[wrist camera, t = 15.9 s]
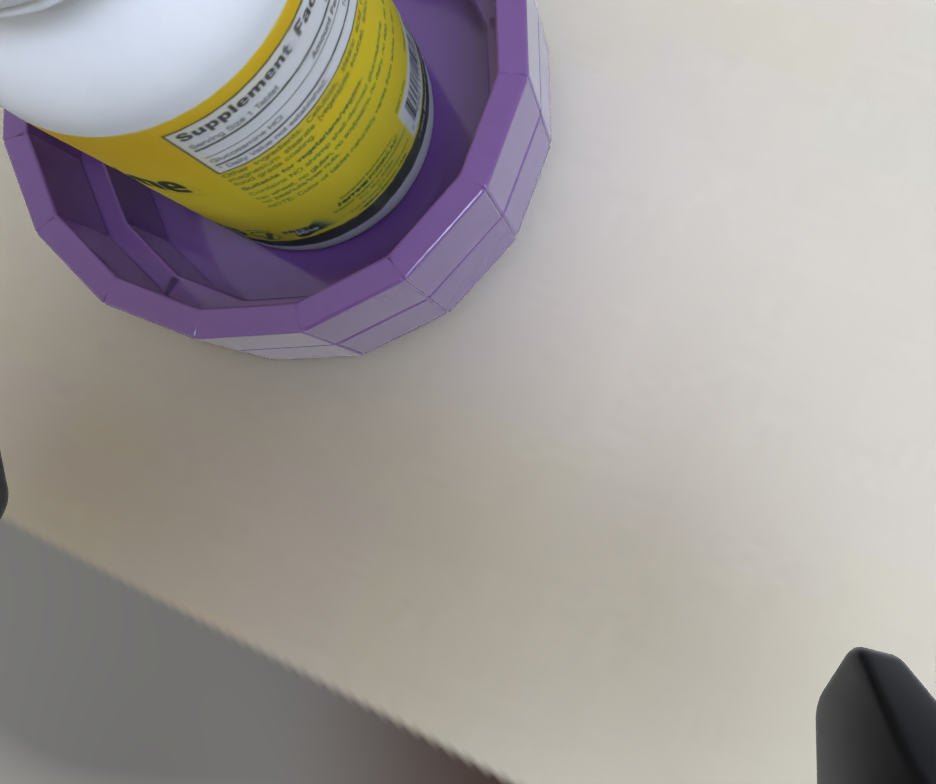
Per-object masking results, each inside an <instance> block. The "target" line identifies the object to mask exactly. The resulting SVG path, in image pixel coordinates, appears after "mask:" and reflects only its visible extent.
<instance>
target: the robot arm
mask: <svg viewBox="0 0 936 784" xmlns="http://www.w3.org/2000/svg"><path fill="white" fill-rule="evenodd" d="M7 502H8V487H7V482H6V477H5V472H4V467H3V462H2V457H1V452H0V519H1V517H2V515H3V513H4V511H5V509H6V506H7ZM816 750H817V784H936V700H935V699H934V698H933V697H932V695H931V694H930V693H929V692H928V691H927V689H926V688H925V687H924V686H923V685H922V683H921V682H920V681H919V680H918V679H917V677H916V676H915V675H914V674H913V673H912V671H911V670H910V669H909V668H908V667H907V665H906V664H905V663H904V662H903V661H902V660H901V659H899V658H898V657H896V656H894V655H892V654H888V653H884V652H880V651H876V650H872V649H868V648H864V647H856V648H854V649H852V650H851V651H849V653H848V654H847V655H846V656H845V658H844V660H843V661H842V663H841V664H840V666H839V667H838V669H837V670H836V672H835V674H834V675H833V677H832V678H831V680H830V681H829V683H828V684H827V686H826V688H825V689H824V691H823V692H822V694H821V696H820V699H819V701H818V705H817V711H816Z"/></svg>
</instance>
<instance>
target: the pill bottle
mask: <svg viewBox="0 0 936 784" xmlns="http://www.w3.org/2000/svg"><path fill="white" fill-rule="evenodd" d="M0 106H1V107H3V108H4V109H6V110H7V111H9V112H10V113H12V114H14V115H15V116H17V117H19V118H20V119H22V120H24V121H25V122H27V123H29V124H31V125H33V126H35V127H36V128H38V129H40V130H42V131H44V132H46V133H48V134H50V135H51V136H53V137H55V138H57V139H59V140H61V141H63V142H65V143H67V144H69V145H71V146H72V147H74V148H76V149H78V150H80V151H82V152H84V153H86V154H88V155H90V156H92V157H94V158H96V159H98V160H100V161H101V162H103V163H105V164H106V165H108V166H110V167H112V168H114V169H116V170H118V171H120V172H122V173H124V174H125V175H127V176H129V177H131V178H133V179H134V180H136V181H138V182H140V183H142V184H144V185H145V186H147V187H149V188H151V189H152V190H154V191H156V192H158V193H160V194H162V195H164V196H166V197H168V198H170V199H172V200H173V201H175V202H177V203H179V204H181V205H183V206H184V207H186V208H188V209H190V210H192V211H194V212H196V213H198V214H200V215H201V216H203V217H205V218H207V219H209V220H211V221H213V222H215V223H216V224H218V225H220V226H222V227H224V228H226V229H228V230H230V231H232V232H234V233H236V234H238V235H240V236H242V237H244V238H246V239H249V240H251V241H253V242H256V243H259V244H262V245H265V246H269V247H273V248H277V249H285V250H313V249H321V248H325V247H329V246H333V245H336V244H339V243H342V242H344V241H347V240H349V239H351V238H353V237H355V236H357V235H359V234H361V233H362V232H364V231H366V230H367V229H369V228H371V227H372V226H374V225H375V224H376V223H378V222H379V221H380V220H382V219H383V218H384V217H385V216H386V215H387V214H388V213H389V212H391V211H392V210H393V209H394V208H395V207H396V206H397V205H398V203H399V202H400V201H401V200H402V199H403V198H404V196H405V195H406V193H407V192H408V190H409V189H410V187H411V186H412V184H413V183H414V181H415V179H416V177H417V176H418V174H419V172H420V170H421V168H422V165H423V163H424V161H425V158H426V155H427V152H428V149H429V146H430V141H431V136H432V129H433V118H434V106H433V94H432V87H431V82H430V78H429V74H428V70H427V67H426V65H425V62H424V60H423V57H422V55H421V53H420V50H419V48H418V46H417V44H416V42H415V40H414V38H413V36H412V34H411V32H410V31H409V29H408V27H407V25H406V24H405V22H404V20H403V18H402V17H401V15H400V13H399V11H398V10H397V8H396V6H395V4H394V3H393V1H392V0H0Z"/></svg>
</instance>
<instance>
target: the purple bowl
mask: <svg viewBox="0 0 936 784" xmlns="http://www.w3.org/2000/svg"><path fill="white" fill-rule="evenodd" d="M392 1H393V3H394V4H395V6H396V8H397V10H398V11H399V13H400V15H401V17H402V18H403V20H404V22H405V24H406V25H407V27H408V29H409V31H410V32H411V34H412V36H413V38H414V40H415V42H416V44H417V46H418V48H419V50H420V53H421V55H422V57H423V60H424V62H425V65H426V67H427V70H428V74H429V78H430V82H431V87H432V94H433V106H434V118H433V129H432V136H431V141H430V146H429V149H428V152H427V155H426V158H425V161H424V163H423V165H422V168H421V170H420V172H419V174H418V176H417V177H416V179H415V181H414V183H413V184H412V186H411V187H410V189H409V190H408V192H407V193H406V195H405V196H404V198H403V199H402V200H401V201H400V202H399V203H398V205H397V206H396V207H395V208H394V209H393V210H392V211H391V212H389V213H388V214H387V215H386V216H385V217H384V218H383V219H382V220H380V221H379V222H378V223H376V224H375V225H374V226H372V227H371V228H369V229H367V230H366V231H364V232H362V233H361V234H359V235H357V236H355V237H353V238H351V239H349V240H347V241H344V242H342V243H339V244H336V245H333V246H329V247H325V248H321V249H313V250H285V249H277V248H273V247H269V246H265V245H262V244H259V243H256V242H253V241H251V240H249V239H246V238H244V237H242V236H240V235H238V234H236V233H234V232H232V231H230V230H228V229H226V228H224V227H222V226H220V225H218V224H216V223H215V222H213V221H211V220H209V219H207V218H205V217H203V216H201V215H200V214H198V213H196V212H194V211H192V210H190V209H188V208H186V207H184V206H183V205H181V204H179V203H177V202H175V201H173V200H172V199H170V198H168V197H166V196H164V195H162V194H160V193H158V192H156V191H154V190H152V189H151V188H149V187H147V186H145V185H144V184H142V183H140V182H138V181H136V180H134V179H133V178H131V177H129V176H127V175H125V174H124V173H122V172H120V171H118V170H116V169H114V168H112V167H110V166H108V165H106V164H105V163H103V162H101V161H100V160H98V159H96V158H94V157H92V156H90V155H88V154H86V153H84V152H82V151H80V150H78V149H76V148H74V147H72V146H71V145H69V144H67V143H65V142H63V141H61V140H59V139H57V138H55V137H53V136H51V135H50V134H48V133H46V132H44V131H42V130H40V129H38V128H36V127H35V126H33V125H31V124H29V123H27V122H25V121H24V120H22V119H20V118H19V117H17V116H15V115H14V114H12V113H10V112H9V111H7V110H6V109H4V119H3V140H4V141H5V142H4V144H5V147H6V149H7V152H8V155H9V158H10V160H11V163H12V166H13V169H14V172H15V174H16V177H17V180H18V183H19V185H20V188H21V191H22V194H23V197H24V199H25V202H26V205H27V208H28V211H29V213H30V216H31V219H32V222H33V224H34V227H35V230H36V231H37V232H38V235H39V236H40V237H41V238H42V239H43V240H44V241H45V242H46V243H47V244H48V246H49V247H50V248H51V249H52V250H53V251H54V252H55V253H56V254H57V255H58V256H59V257H60V258H61V259H62V260H63V261H64V262H65V263H66V265H67V266H68V267H69V268H70V269H71V270H72V271H73V272H74V273H75V274H76V275H77V276H78V277H79V278H80V279H81V280H82V281H83V282H84V284H85V285H86V286H87V287H88V288H89V289H90V290H91V291H92V292H93V293H94V294H95V295H96V296H97V297H98V298H99V299H100V300H101V301H102V302H104V303H105V304H106V305H108V306H111V307H114V308H116V309H119V310H121V311H124V312H126V313H129V314H132V315H134V316H137V317H139V318H142V319H144V320H147V321H149V322H152V323H155V324H157V325H160V326H162V327H165V328H167V329H170V330H173V331H175V332H178V333H180V334H183V335H185V336H188V337H191V338H193V339H197V340H201V341H204V342H208V343H212V344H215V345H219V346H223V347H227V348H230V349H235V350H238V351H242V352H245V353H249V354H253V355H257V356H260V357H264V358H268V359H273V360H283V359H301V358H319V357H337V356H354V355H362V353H367V352H369V351H371V350H373V349H375V348H377V347H379V346H381V345H383V344H385V343H387V342H389V341H391V340H393V339H395V338H397V337H399V336H401V335H403V334H405V333H407V332H409V331H411V330H413V329H416V328H418V327H420V326H422V325H424V324H426V323H428V322H430V321H432V320H434V319H436V318H438V317H440V316H442V315H444V314H445V313H446V312H447V311H451V310H452V309H453V308H454V307H455V305H456V304H457V303H458V302H459V301H460V300H461V299H462V298H463V297H464V295H465V294H466V293H467V292H468V291H469V290H470V289H471V288H472V287H473V285H474V284H475V283H476V282H477V281H478V280H479V279H480V278H481V277H482V275H483V274H484V273H485V272H486V271H487V270H488V269H489V268H490V267H491V265H492V264H493V263H494V262H495V261H496V260H497V259H498V258H499V257H500V256H501V254H502V253H503V252H504V251H505V250H506V249H507V248H508V247H509V246H510V244H511V243H512V242H513V241H514V240H515V236H516V235H517V234H518V231H519V228H520V226H521V223H522V220H523V218H524V215H525V212H526V209H527V207H528V204H529V201H530V199H531V196H532V193H533V191H534V188H535V185H536V183H537V180H538V177H539V175H540V172H541V169H542V167H543V164H544V161H545V159H546V156H547V153H548V151H549V148H550V143H551V121H550V92H549V64H548V49H547V44H546V40H545V36H544V32H543V29H542V25H541V21H540V17H539V13H538V9H537V6H536V2H535V0H392Z"/></svg>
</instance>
